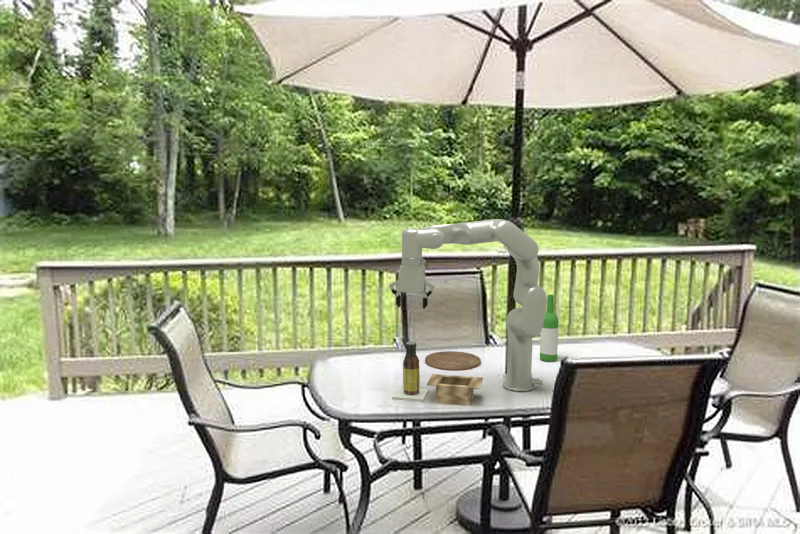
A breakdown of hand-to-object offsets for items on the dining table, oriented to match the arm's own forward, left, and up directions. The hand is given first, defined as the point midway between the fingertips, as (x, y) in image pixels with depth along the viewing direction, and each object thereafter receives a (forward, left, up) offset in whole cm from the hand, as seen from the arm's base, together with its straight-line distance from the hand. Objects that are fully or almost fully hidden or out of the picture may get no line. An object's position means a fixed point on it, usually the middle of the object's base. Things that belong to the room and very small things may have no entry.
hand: (411, 307), depth 241 cm
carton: (-17, 0, -34) cm, 38 cm away
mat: (0, 0, -34) cm, 34 cm away
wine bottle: (-52, -60, -34) cm, 86 cm away
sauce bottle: (0, 0, -33) cm, 33 cm away
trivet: (-10, -47, -35) cm, 59 cm away
